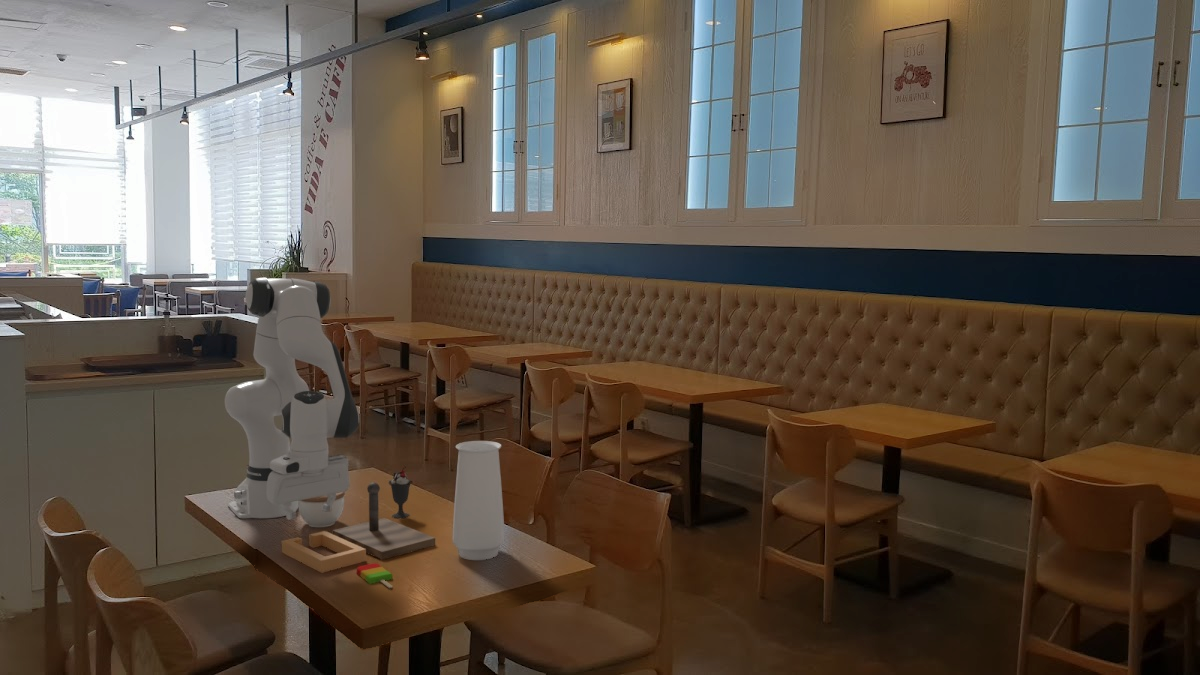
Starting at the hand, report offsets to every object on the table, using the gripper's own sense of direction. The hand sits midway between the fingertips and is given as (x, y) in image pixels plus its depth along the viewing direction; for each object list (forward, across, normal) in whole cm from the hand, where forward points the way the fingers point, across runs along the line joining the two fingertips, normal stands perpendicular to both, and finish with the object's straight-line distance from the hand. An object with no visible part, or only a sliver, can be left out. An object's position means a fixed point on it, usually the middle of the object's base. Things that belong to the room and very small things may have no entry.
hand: (309, 515), depth 224 cm
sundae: (+13, -38, -19) cm, 45 cm away
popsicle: (+12, -7, +20) cm, 25 cm away
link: (+12, -5, -3) cm, 14 cm away
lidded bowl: (+13, -18, -28) cm, 36 cm away
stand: (+12, -22, -3) cm, 26 cm away
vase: (+12, -35, +22) cm, 43 cm away
